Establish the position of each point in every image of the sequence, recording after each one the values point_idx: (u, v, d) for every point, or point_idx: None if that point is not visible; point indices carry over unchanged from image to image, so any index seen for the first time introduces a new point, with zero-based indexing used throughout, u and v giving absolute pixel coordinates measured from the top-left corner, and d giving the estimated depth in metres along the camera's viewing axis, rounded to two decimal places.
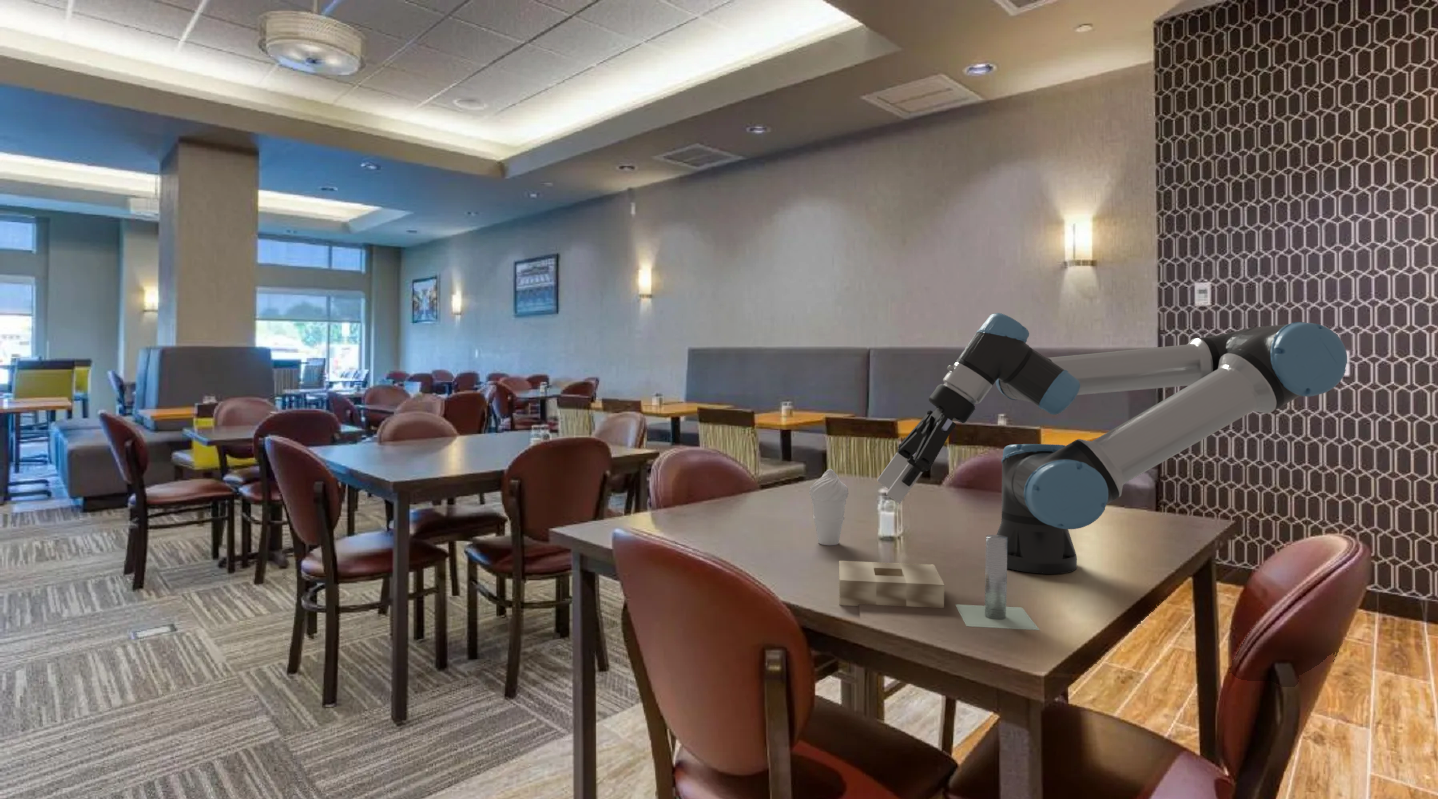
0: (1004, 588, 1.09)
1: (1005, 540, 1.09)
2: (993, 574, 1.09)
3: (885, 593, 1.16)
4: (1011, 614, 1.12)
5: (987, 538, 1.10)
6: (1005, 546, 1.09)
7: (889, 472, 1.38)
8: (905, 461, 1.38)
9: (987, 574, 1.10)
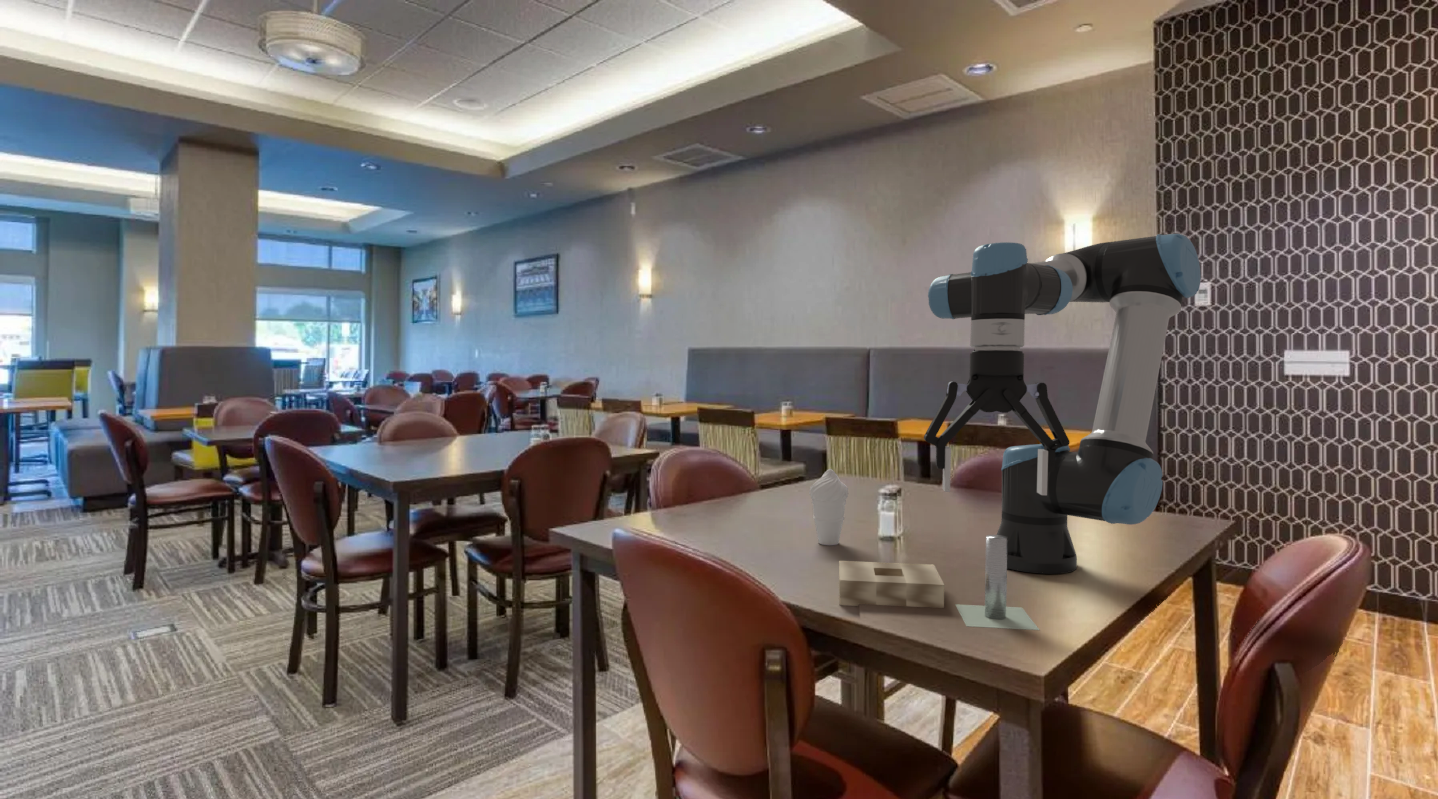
0: (1004, 588, 1.09)
1: (1005, 540, 1.09)
2: (993, 574, 1.09)
3: (885, 593, 1.16)
4: (1011, 614, 1.12)
5: (987, 538, 1.10)
6: (1005, 546, 1.09)
7: None
8: None
9: (987, 574, 1.10)
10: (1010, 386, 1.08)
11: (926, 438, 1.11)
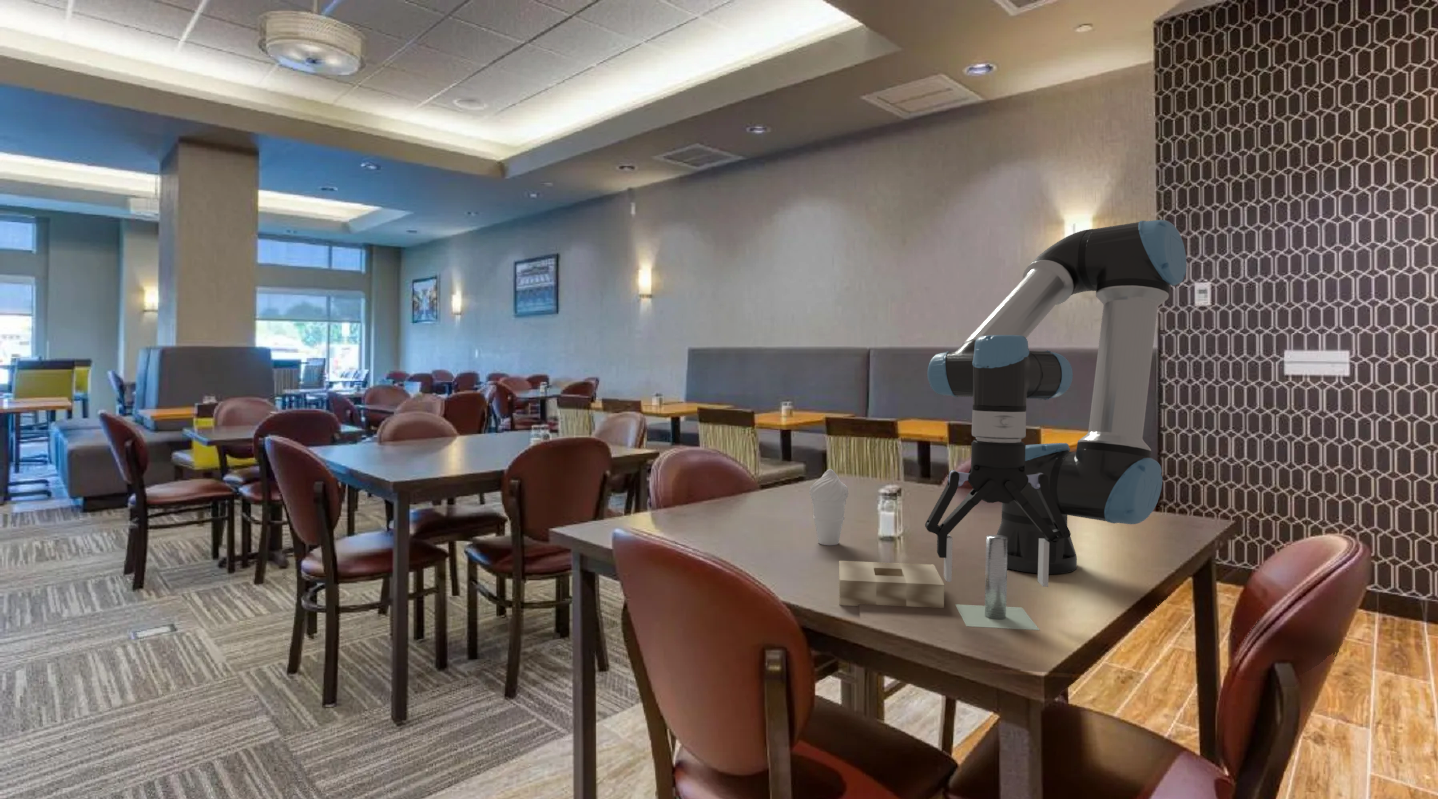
0: (1004, 588, 1.09)
1: (1005, 540, 1.09)
2: (993, 574, 1.09)
3: (885, 593, 1.16)
4: (1011, 614, 1.12)
5: (987, 538, 1.10)
6: (1005, 546, 1.09)
7: None
8: None
9: (987, 574, 1.10)
10: (1011, 477, 1.08)
11: (928, 527, 1.10)
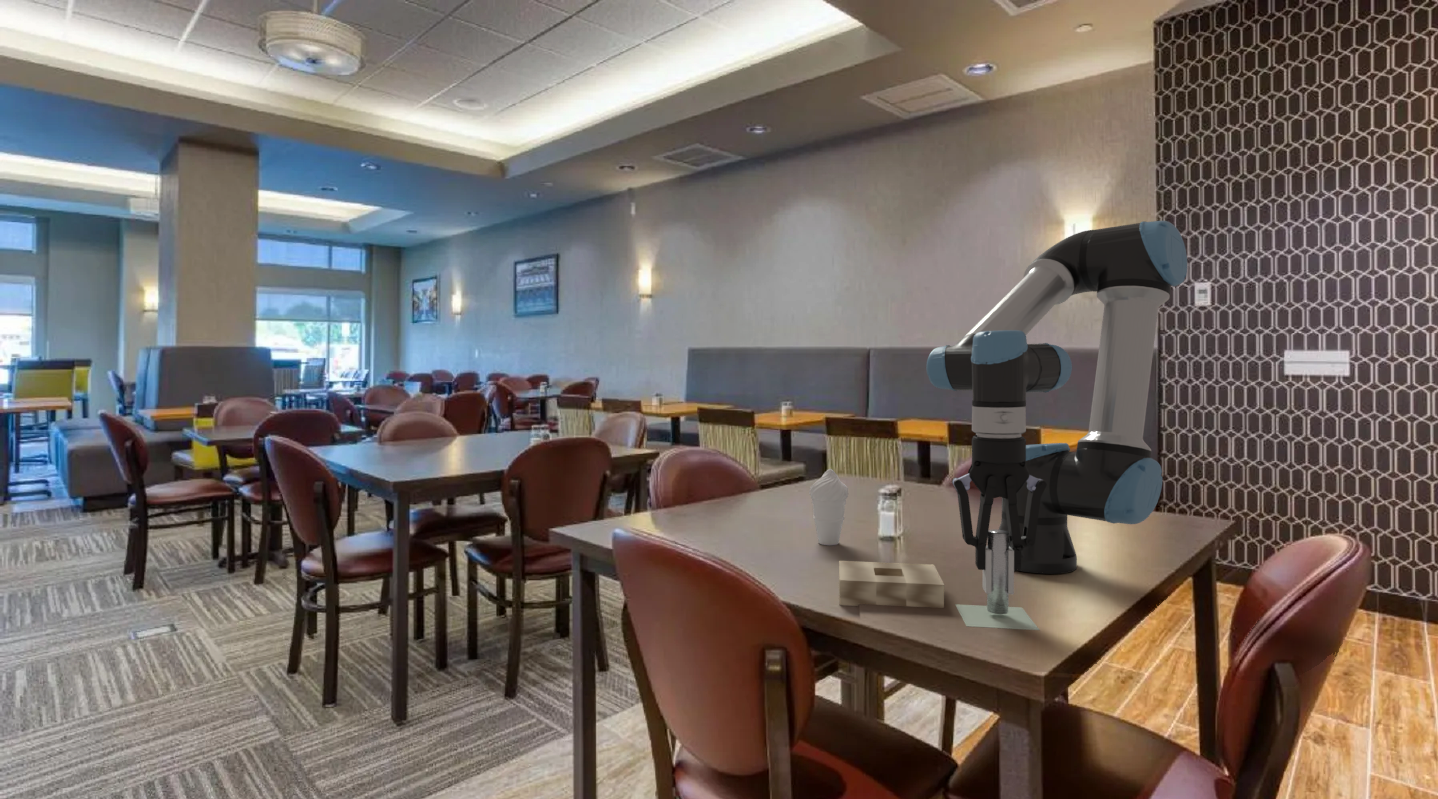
0: (1006, 583, 1.10)
1: (1007, 535, 1.09)
2: (995, 568, 1.10)
3: (885, 593, 1.16)
4: (1011, 614, 1.12)
5: (989, 533, 1.10)
6: (1007, 541, 1.09)
7: None
8: None
9: None
10: (1015, 468, 1.08)
11: (966, 542, 1.10)
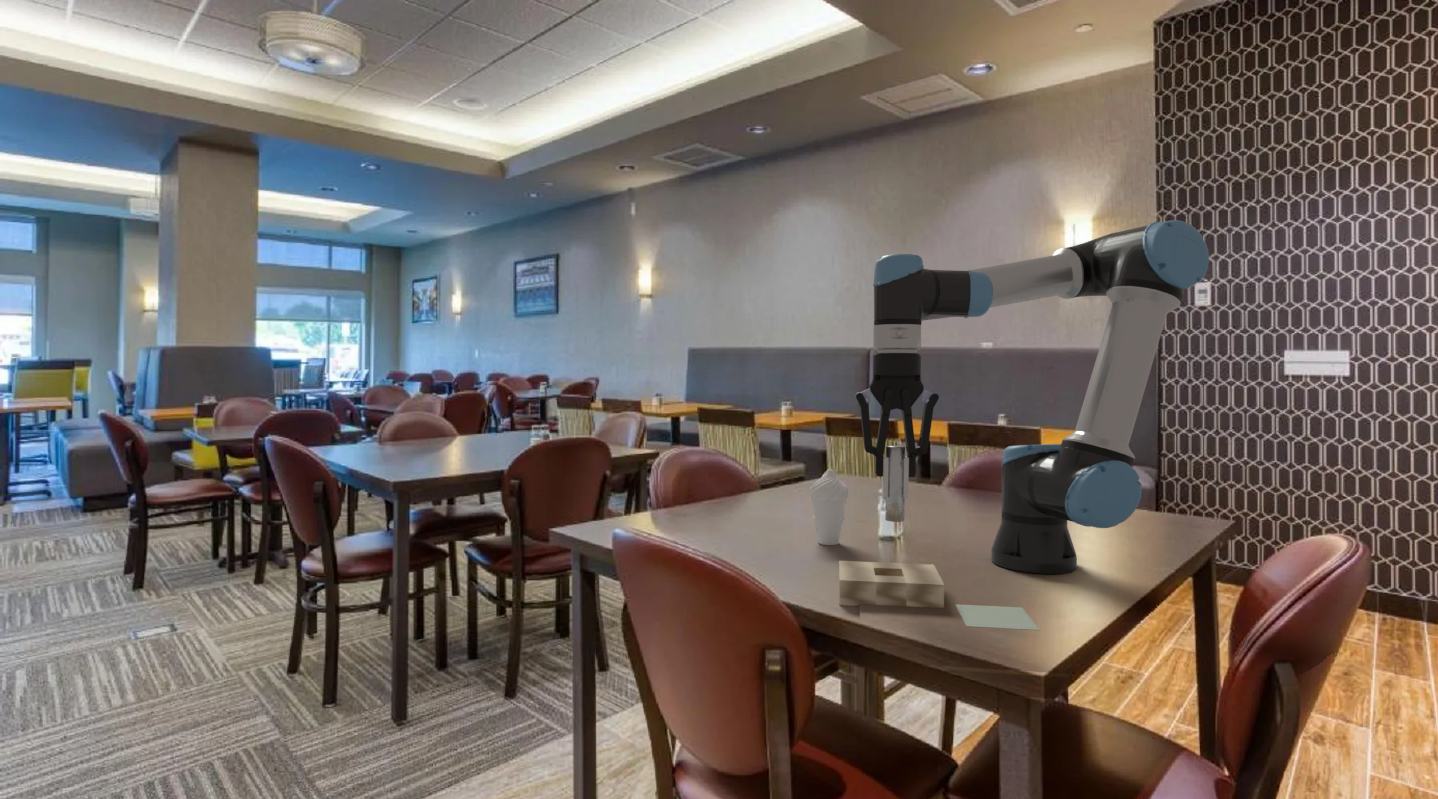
0: (902, 493, 1.19)
1: (902, 448, 1.19)
2: (891, 479, 1.19)
3: (885, 593, 1.16)
4: (1011, 614, 1.12)
5: (886, 447, 1.20)
6: (902, 454, 1.19)
7: None
8: None
9: None
10: (911, 382, 1.18)
11: (866, 450, 1.20)
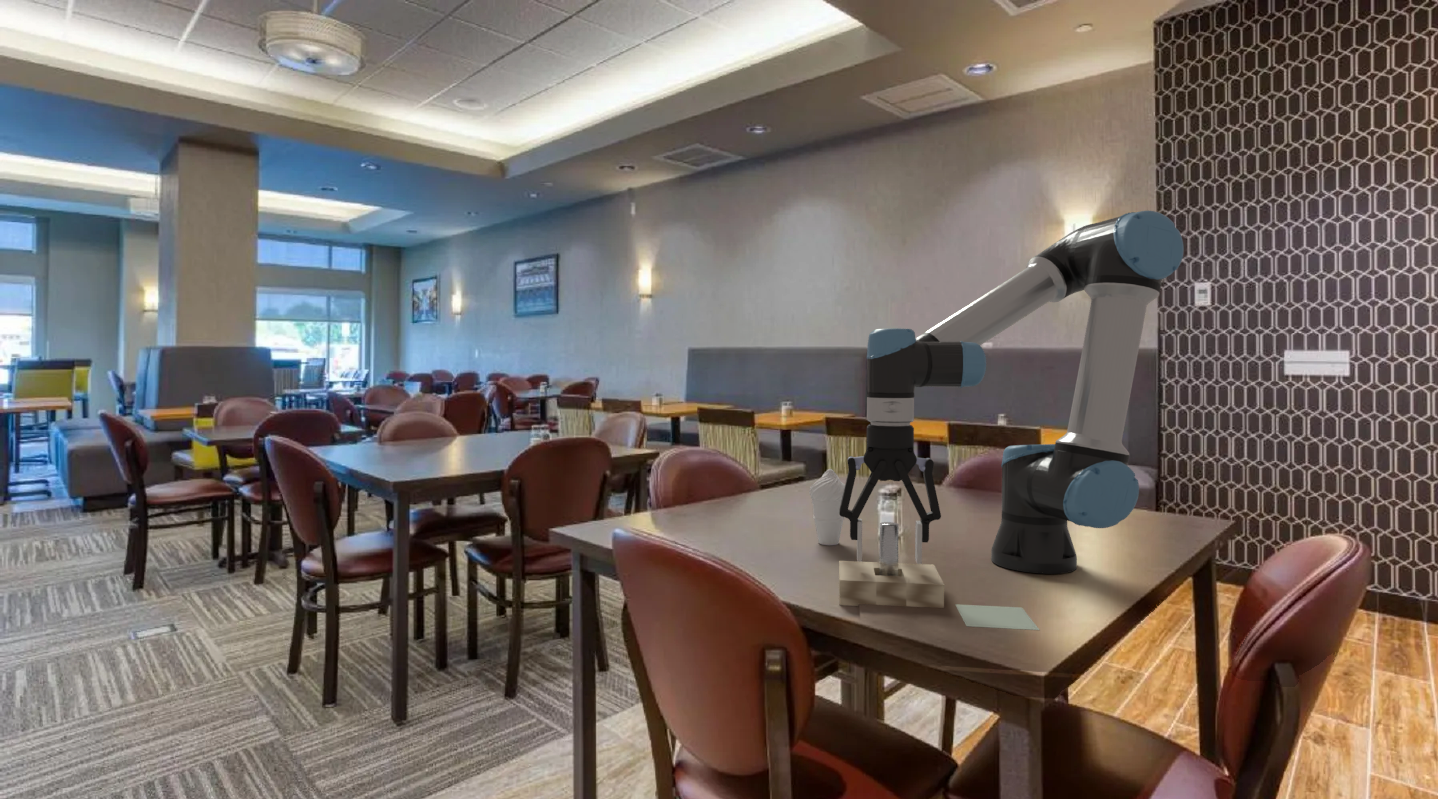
0: (895, 570, 1.20)
1: (896, 527, 1.20)
2: (885, 557, 1.20)
3: (885, 593, 1.16)
4: (1011, 614, 1.12)
5: (880, 525, 1.21)
6: (896, 532, 1.20)
7: None
8: None
9: (880, 558, 1.21)
10: (902, 455, 1.20)
11: (840, 513, 1.21)
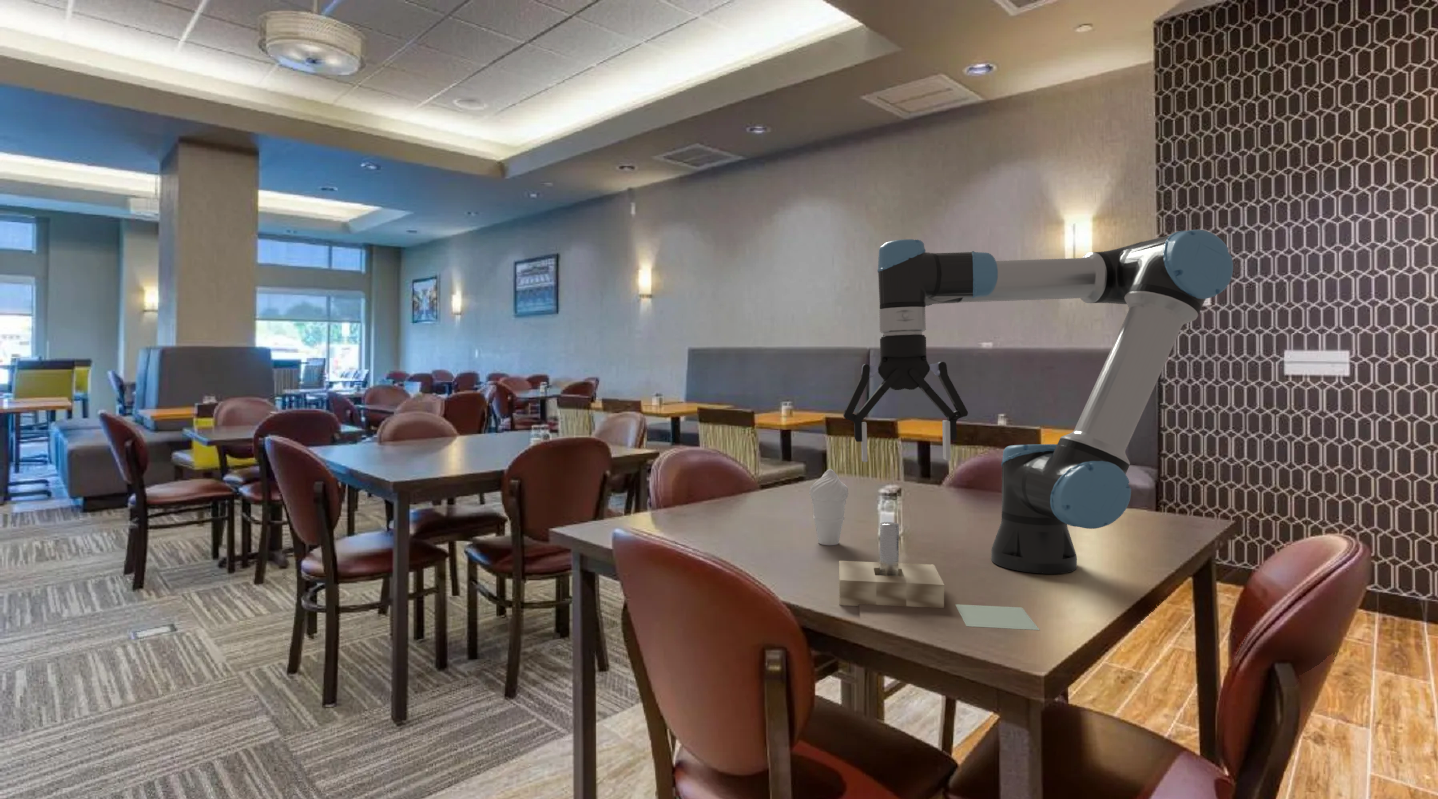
0: (895, 570, 1.20)
1: (896, 527, 1.20)
2: (885, 557, 1.20)
3: (885, 593, 1.16)
4: (1011, 614, 1.12)
5: (881, 525, 1.21)
6: (896, 532, 1.20)
7: None
8: None
9: (881, 558, 1.21)
10: (915, 366, 1.23)
11: (844, 415, 1.25)
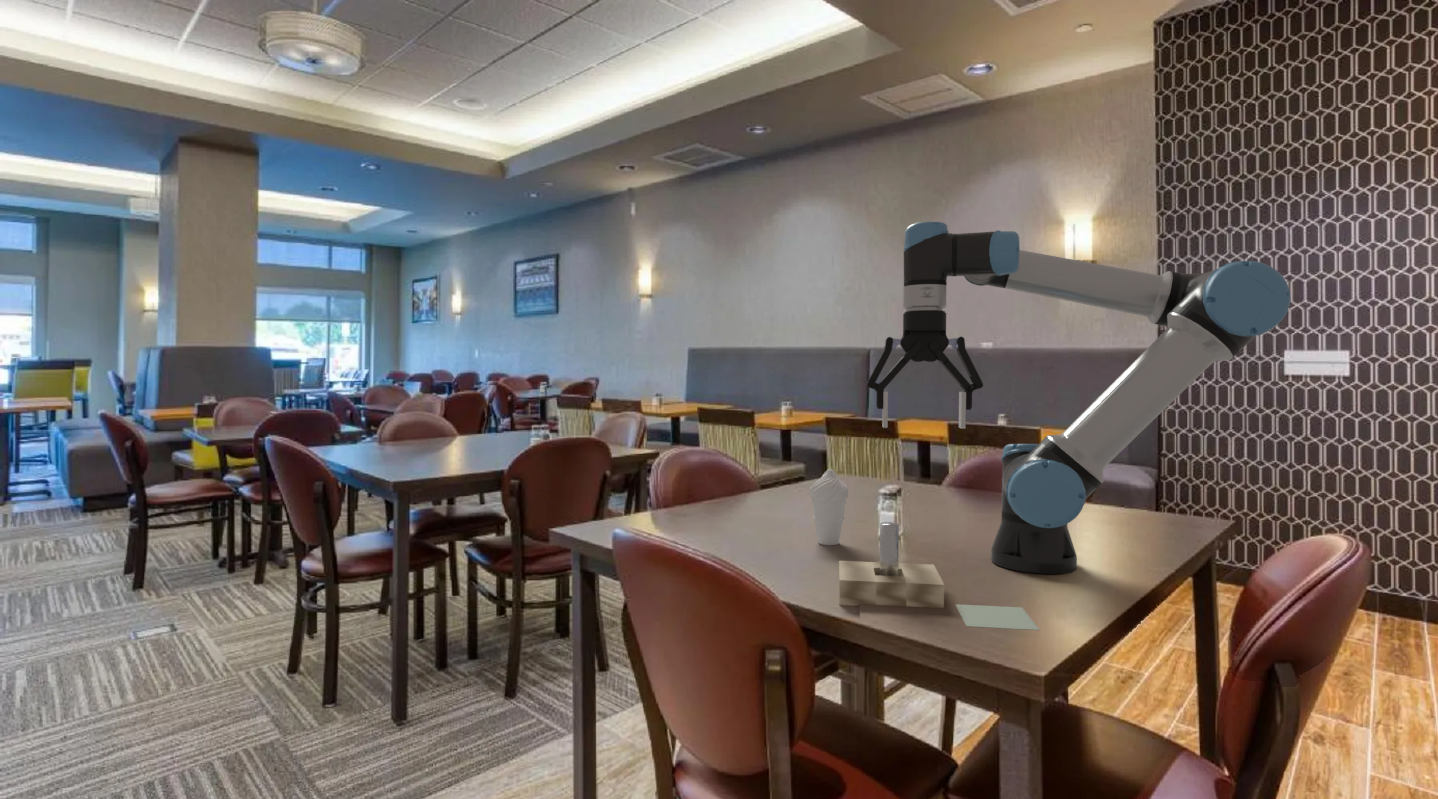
0: (895, 570, 1.20)
1: (896, 527, 1.20)
2: (885, 557, 1.20)
3: (885, 593, 1.16)
4: (1011, 614, 1.12)
5: (880, 525, 1.21)
6: (896, 532, 1.20)
7: None
8: None
9: (880, 558, 1.21)
10: (935, 340, 1.33)
11: (868, 384, 1.35)
